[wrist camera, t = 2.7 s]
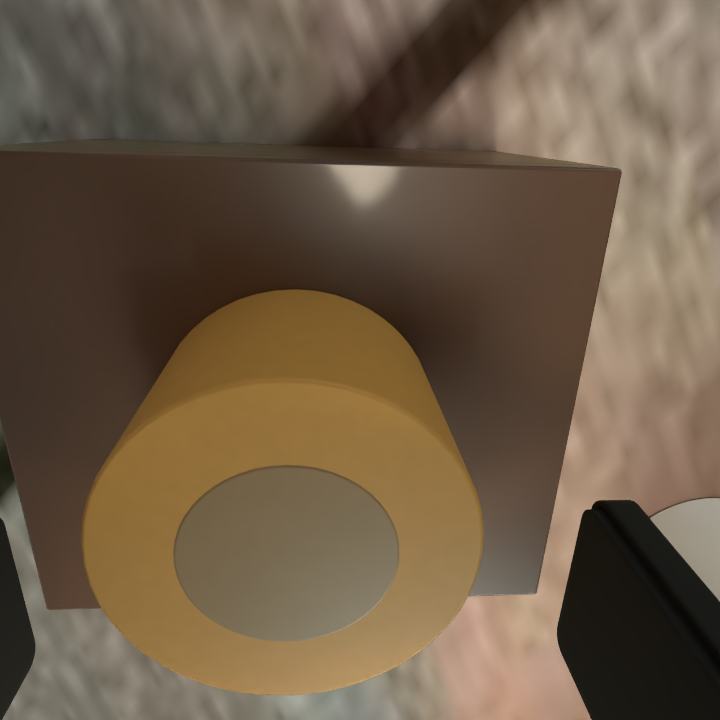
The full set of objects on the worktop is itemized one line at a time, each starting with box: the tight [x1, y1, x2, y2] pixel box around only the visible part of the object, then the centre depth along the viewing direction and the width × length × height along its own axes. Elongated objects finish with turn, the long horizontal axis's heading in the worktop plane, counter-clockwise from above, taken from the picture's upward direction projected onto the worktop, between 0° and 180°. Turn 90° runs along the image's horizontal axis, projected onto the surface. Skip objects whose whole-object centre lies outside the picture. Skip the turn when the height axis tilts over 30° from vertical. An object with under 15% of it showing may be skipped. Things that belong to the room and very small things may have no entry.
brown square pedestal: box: [0, 139, 621, 610], centre depth 18 cm, size 14×12×9 cm
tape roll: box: [81, 289, 484, 695], centre depth 11 cm, size 7×7×5 cm
